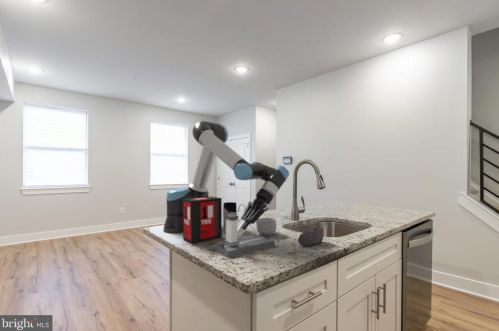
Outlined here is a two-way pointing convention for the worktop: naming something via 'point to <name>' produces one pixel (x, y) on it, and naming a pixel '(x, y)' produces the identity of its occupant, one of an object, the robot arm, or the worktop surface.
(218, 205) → the cleaning product box
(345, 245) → the worktop surface
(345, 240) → the worktop surface
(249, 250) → the fader console
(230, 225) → the fader knob
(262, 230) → the teacup
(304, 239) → the perforated stone tool
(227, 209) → the glass holder
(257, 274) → the worktop surface
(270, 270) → the worktop surface
